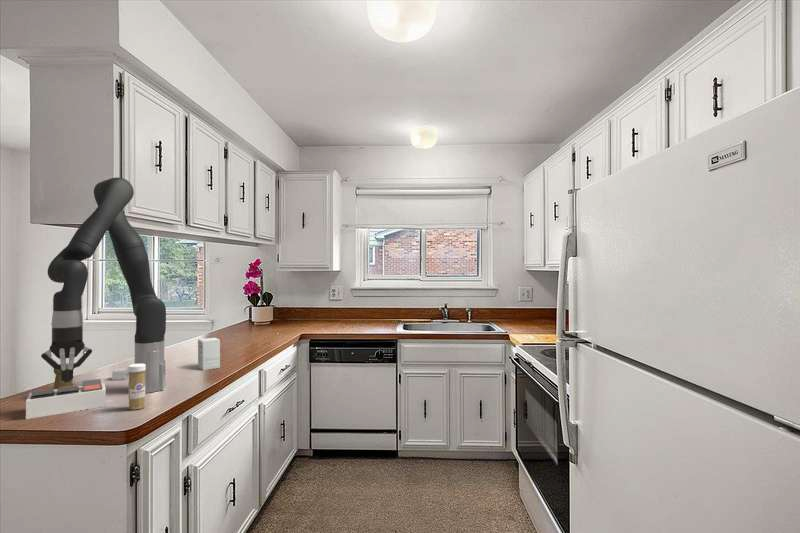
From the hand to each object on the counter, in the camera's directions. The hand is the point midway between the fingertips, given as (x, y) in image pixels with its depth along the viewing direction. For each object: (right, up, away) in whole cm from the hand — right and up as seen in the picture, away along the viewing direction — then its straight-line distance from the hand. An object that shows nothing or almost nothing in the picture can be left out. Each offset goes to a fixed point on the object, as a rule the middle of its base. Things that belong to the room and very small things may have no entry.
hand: (67, 381), depth 132 cm
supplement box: (+18, -9, +57) cm, 60 cm away
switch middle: (-1, -4, +2) cm, 4 cm away
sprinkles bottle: (+20, -9, +2) cm, 22 cm away
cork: (-13, -9, +15) cm, 21 cm away
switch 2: (+4, -4, +6) cm, 8 cm away
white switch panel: (-1, -9, +2) cm, 9 cm away
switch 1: (-6, -4, -2) cm, 7 cm away
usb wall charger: (-7, -9, +38) cm, 40 cm away
